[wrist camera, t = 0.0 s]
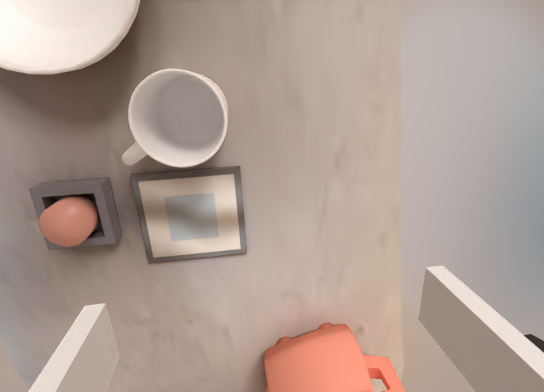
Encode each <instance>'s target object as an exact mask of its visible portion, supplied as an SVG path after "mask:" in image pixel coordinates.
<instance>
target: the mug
mask: <svg viewBox="0 0 544 392" xmlns="http://www.w3.org/2000/svg"><path fill="white" fill-rule="evenodd" d="M128 121H129V126H130V129H131V132H132V135H133V137H134V139H135V140H136V142H135V143H133V144H132V145H131V146H130V147H129V148H128V149H127V150H126V151H125V152H124V154H123V155H122V161H123V163H125V164H126V165H133V164H135V163H136V162H138V161H139V160H141V159H142V158H143V157H145V156H146V155H149V156H150V157H151V158H153V159H154V160H156V161H158V162H160V163H162V164H165V165H168V166H172V167H191V166H195V165H199V164H201V163H203V162H205V161H207V160H208V159H210V158H211V157H212V156H213V155H214V154H215V153H216V152H217V151H218V150H219V148H220V147H221V145H222V143H223V141H224V139H225V136H226V132H227V124H228V106H227V102H226V99H225V97H224V94H223V93H222V91H221V90H220V88H219V87H218V86H217V85H216V84H215V83H214V82H213V81H211V80H210V79H209V78H207V77H205V76H203V75H201V74H197V73H194V72H190V71H187V70H182V69H165V70H161V71H157V72H155V73H153V74H151V75H149V76H148V77H146V78H145V79H144V80H142V81H141V82H140V83H139V85H138V86H137V87H136V89H135V90H134V92H133V94H132V96H131V99H130V102H129V107H128Z"/></svg>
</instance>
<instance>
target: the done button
mask: <svg viewBox="0 0 544 392" xmlns="http://www.w3.org/2000/svg"><path fill="white" fill-rule="evenodd" d="M99 222H100V215H99V211H98V207H97V206H96V205H95V203H94V202H93V201H91V200H90V199H88V198H86V197H84V196H80V195H69V196H65V197H63V198H62V199H60V200H59V201H57V202H56V203H54V204H53V205H51V206H50V207H48V208H47V209H46V210H44V212H43V213H42V214H41V216H40V219H39V226H40V229H41V232H42V233H43V235H44V236H45V237H46V238H47V239H48V240H49V241H51V242H52V243H54V244H57V245H60V246H66V247H70V246H75V245H78V244H80V243H82V242H83V241H84V240H85V239H86V238H87V237H88V236H89V235H90V234H91V233H92V232H93V231H94V229H95V228H96V227H97V226H98V225H99Z"/></svg>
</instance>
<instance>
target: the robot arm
mask: <svg viewBox="0 0 544 392" xmlns="http://www.w3.org/2000/svg"><path fill="white" fill-rule="evenodd" d="M419 321H420V322H421V323H422V324H423V326H424V327H425V328H426V329H427V331H428V332H429V333H430V334H431V336H432V337H433V338H434V339H435V341H436V342H437V343H438V345H440V347H441V348H442V350H443V351H444V352H445V353H446V355H447V356H448V357H449V358H450V360H451V361H452V362H453V363H454V365H455V366H456V367H457V368H458V370H459V371H460V372H461V374H462V375H463V376H464V377H465V379H466V380H467V381H468V382H469V384H470V385H471V386H472V387H473V389H474V390H475V391H476V392H544V341H542V340H541V339H539V338H537V337H535V336H533V335H532V334H529V335H522V334H521V333H520V332H519V331H518V330H517V329H516V328H514V327H513V326H512V325H511V324H510V323H509V322H507V321H506V320H505V319H504V318H503V317H502V316H500V315H499V314H498V313H497V312H496V311H495V310H494V309H492V308H491V307H490V306H489V305H488V304H487V303H485V302H484V301H483V300H482V299H481V298H480V297H478V296H477V295H476V294H475V293H474V292H473V291H471V290H470V289H469V288H468V287H467V286H466V285H465V284H463V283H462V282H461V281H460V280H459V279H457V278H456V277H455V276H454V275H453V274H452V273H450V272H449V271H448V270H447V269H446V268H445V267H444V266H437V267H427V268H426V271H425V279H424V285H423V292H422V300H421V306H420V313H419ZM119 360H120V354H119V351H118V347H117V343H116V339H115V336H114V332H113V328H112V325H111V321H110V317H109V314H108V310H107V306H106V303H104V304H95V305H86V306H84V308H83V309H82V311H81V312H80V314H79V315H78V317H77V318H76V320H75V321H74V323H73V324H72V326H71V327H70V329H69V331H68V332H67V334H66V335H65V337H64V338H63V340H62V341H61V343H60V344H59V346H58V347H57V349H56V350H55V352H54V353H53V355H52V356H51V358H50V359H49V361H48V362H47V364H46V366H45V367H44V369H43V370H42V372H41V373H40V375H39V376H38V378H37V379H36V381H35V382H34V384H33V385H32V387H31V388H30V390H29V391H28V392H107V390H108V388H109V385H110V383H111V380H112V378H113V375H114V373H115V370H116V368H117V365H118V363H119Z"/></svg>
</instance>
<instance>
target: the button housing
mask: <svg viewBox="0 0 544 392" xmlns="http://www.w3.org/2000/svg"><path fill="white" fill-rule="evenodd" d="M29 191H30V194H31V197H32V200H33V203H34V206H35V209H36V212H37V215H38V218H39V219H40V216H41V214H42V213H43V212H44V210H46V209H47V208H48V207H50V206H51V205H53V204H54V203H56V202H57V201H59V200H60V199H62V198H63V197H65V196H69V195H80V196H84V197H86V198H88V199H90V200H91V201H93V202H94V203H95V205H96V206H97V207H98V211H99V215H100V222H99V225H98V226H97V227H96V228H95V229H94V231H93V232H92V233H91V234H90V235H89V236H88V237H87V238H86V239H85V240H84V241H83V242H82V243H80V244H78V245H75V246H70V247H66V246H60V245H57V244H54V243H52V242H51V241H49V240H48V239H47V238H46V237H45V240H46V243H47V246H48V249H49V250H54V249H65V248H75V247H85V246H96V245H106V244H116V242H117V241H118V240H119V238H120V237H121V235H122V231H121V227H120V223H119V218H118V214H117V210H116V206H115V201H114V197H113V193H112V188H111V184H110V180H109V178H98V179H84V180H71V181H58V182H45V183H40V184H38V185H37V186H35V187H33V188H31V189H29Z"/></svg>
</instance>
